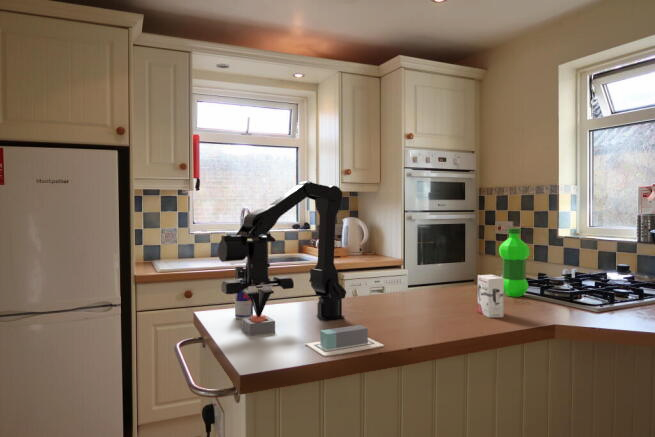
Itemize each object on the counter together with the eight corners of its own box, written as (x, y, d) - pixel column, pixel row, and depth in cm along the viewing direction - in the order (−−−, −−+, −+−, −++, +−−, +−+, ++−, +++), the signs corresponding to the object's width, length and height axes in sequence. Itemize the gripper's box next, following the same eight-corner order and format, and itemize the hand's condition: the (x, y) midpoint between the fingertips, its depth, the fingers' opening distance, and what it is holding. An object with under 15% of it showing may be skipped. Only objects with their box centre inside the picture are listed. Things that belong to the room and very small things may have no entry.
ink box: (476, 311, 145) (476, 274, 145) (491, 311, 145) (491, 274, 145) (488, 318, 136) (488, 278, 136) (504, 317, 137) (504, 278, 137)
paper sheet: (362, 336, 118) (362, 334, 118) (384, 346, 109) (384, 344, 109) (305, 344, 111) (305, 343, 111) (323, 356, 102) (323, 355, 102)
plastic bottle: (503, 297, 167) (502, 229, 166) (497, 292, 177) (497, 228, 176) (532, 298, 165) (532, 229, 164) (524, 293, 175) (524, 227, 175)
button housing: (266, 326, 129) (266, 315, 129) (275, 332, 123) (275, 320, 123) (242, 329, 126) (242, 318, 126) (249, 335, 120) (249, 324, 119)
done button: (263, 321, 127) (262, 314, 127) (267, 324, 123) (267, 317, 123) (249, 323, 125) (249, 315, 125) (253, 326, 122) (253, 318, 121)
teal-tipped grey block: (360, 339, 114) (360, 324, 114) (367, 342, 111) (367, 328, 111) (320, 345, 109) (320, 330, 109) (327, 349, 106) (327, 334, 106)
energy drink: (249, 319, 137) (248, 279, 136) (232, 319, 138) (231, 279, 138) (255, 315, 142) (255, 277, 142) (239, 315, 143) (238, 276, 143)
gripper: (279, 254, 135) (280, 307, 136) (216, 258, 127) (217, 314, 127) (294, 258, 125) (294, 314, 126) (226, 262, 117) (227, 323, 117)
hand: (258, 316), depth 124 cm, fingers closed, pressing on done button
